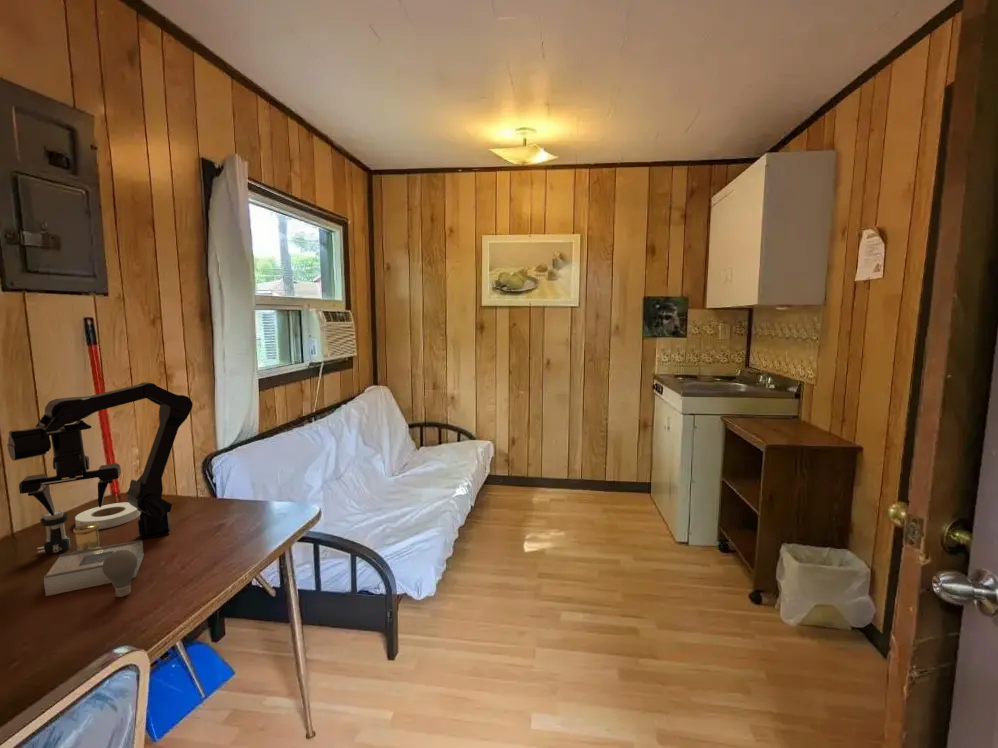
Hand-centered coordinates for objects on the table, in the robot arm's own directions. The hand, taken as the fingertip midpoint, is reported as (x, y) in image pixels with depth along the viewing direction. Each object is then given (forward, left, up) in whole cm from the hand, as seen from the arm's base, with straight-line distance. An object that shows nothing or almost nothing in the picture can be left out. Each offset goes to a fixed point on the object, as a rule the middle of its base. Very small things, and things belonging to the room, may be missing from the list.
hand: (77, 510), depth 127 cm
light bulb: (-13, +27, -12) cm, 32 cm away
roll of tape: (-1, -27, -13) cm, 30 cm away
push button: (+7, -8, -12) cm, 16 cm away
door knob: (-2, +1, -12) cm, 12 cm away
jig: (-6, +13, -12) cm, 19 cm away
